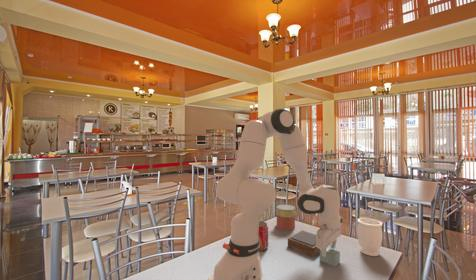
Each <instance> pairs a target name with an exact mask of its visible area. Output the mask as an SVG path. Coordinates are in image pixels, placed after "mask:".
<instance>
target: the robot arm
mask: <svg viewBox="0 0 476 280" xmlns="http://www.w3.org/2000/svg"><path fill="white" fill-rule="evenodd" d="M270 137H276V138H277V139H278V140H279V143H280V148H281V151H282V155H283V157H284V159H285V162H286V163H287V165H288V166H290V167H291V169H292V170H293V172H294V174H295V178H296V181H297V183H298V194H297V195H298V196H297V197H298V198H297V207H298V209H299V210H300V211H301V212H302V213H304V214H307V215H317V214H318V225H319V226H320V227H319V228H318V229H317V231H316V234H315V235H316V247H317V248H318V249H321V251H322V256H324V257H326V256H327V252H326V249H327V247H328V248H329V246H330V249H333V250H335V249H336V246H337V245H336V244H337V241H338V239H339V237H341V235H342V230H343V229H342V228H343V222H344V218H343V216H340V215H341V213H340V208H341V197H340V191H339V190H338V189H337V187H335V186H334V185H330V184H321V185H319V186H317V187H314V185H313V184H312V180H311V176H310V173H309V170H308V162H309V161H308V160H309V159H308V157H309V154H308V148H307V145H306V142H305V138H304V136H303V133H302V131H301V128H300V126H298V124H296V121H295V117H294V115H293V113H292V112H291V111H290V110H289V109H288V108H284V107H283V108H276V109H274V110H272V111H268V112H266V113H264V114H263V115H262V116H259V117H258V118H257V119H251V120H249V121H247V122H246V123H245V125H244V128H243V130H242V132H241V136H240V140H239V145H238V150H237V153H236V154H237V155H236V158H235V161H234V164H233V165H232V167H231V169H230V170H229V172H227V174H226V175H224V176H222V177H221V178H220V179H219V180H218V182H217V184H216V187H215V192H216V195H217V198H219V200H221V201H224V202H226V203H228V204H232V205H234V204H235V205H236V206H237V205H238V206H242V209H241V210H242V211H241V212H239V213H238V214H235V216H233V217H232V219H231V221H230V238H229V241H228V243H226V242H224V243H223V244H222V248H223V249H225V250H226V251H225V253H224V254H223V255H222V256H221V258H220V259H219V261H218V262H217V263H216V264H215V267H214V268H213V274H212V275H211V276H210V277H209V278H208V279H207V280H264V279H263V272H262V265H261V257H260V252H259V249H260V244H259V239H258V232H259V221H261V218H262V216H263V214H264V213H265V211H267V210H268V209H270V208H271V207H272V206H273V205H274V204H275V201H276V199H277V191H276V188H275V185H274V184H273V183H271V182H269V181H266V180H263V179H259V178H250V176H251V175H252V174H253V172H254V171H257V170H258V169H261V167H262V166H263V164H264V159H265V154H266V153H265V152H266V146H267V140H268V139H269V138H270Z"/></svg>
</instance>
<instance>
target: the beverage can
mask: <svg viewBox="0 0 476 280" xmlns="http://www.w3.org/2000/svg"><path fill="white" fill-rule="evenodd" d="M258 239H259V244H260V249H259V251H265V250H267V249H268V248H269V227H268V223H267V222H265V221H261V220H260V221H259V232H258Z"/></svg>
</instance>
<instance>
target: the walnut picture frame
mask: <svg viewBox="0 0 476 280" xmlns="http://www.w3.org/2000/svg"><path fill="white" fill-rule="evenodd" d="M287 247H289V248H292V249H294V250H296V251H299V252H301V253H304V254H306V255H308V256H309V255H310V256H312V257H315V256H317V254H320V249H318V248H317V247H316V234H314V233H311V232H308V231H305V230H303V229H302V230H300V231H298V232H296V233H294V234H293V235H291V236H290V237H288V238H287Z"/></svg>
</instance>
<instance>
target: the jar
mask: <svg viewBox="0 0 476 280" xmlns="http://www.w3.org/2000/svg"><path fill="white" fill-rule="evenodd" d="M357 223H358V224H357V229H356V230H357V231H356V233H357V240H358V241H357V242H358V245H359V246H360V247H359V251H360V253H362V254H364V255H367V256H370V257H378V256H380V249H381V246H382V242H383V222H382V221H381V220H378V219H375V218H371V217H359V218H357Z"/></svg>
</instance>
